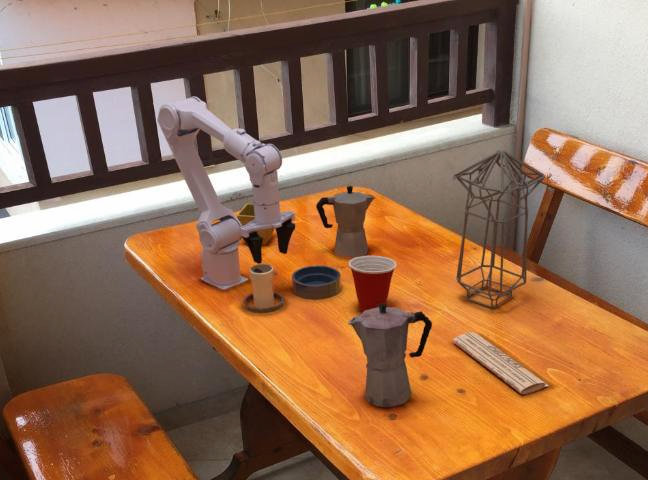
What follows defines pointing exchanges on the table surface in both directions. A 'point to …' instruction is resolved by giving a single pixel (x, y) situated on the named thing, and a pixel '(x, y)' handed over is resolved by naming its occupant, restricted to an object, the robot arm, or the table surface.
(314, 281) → the planter
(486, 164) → the geometric lantern
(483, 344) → the newspaper
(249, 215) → the flower pot
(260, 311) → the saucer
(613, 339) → the table surface
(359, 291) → the plastic cup
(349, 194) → the coffeepot
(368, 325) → the moka pot
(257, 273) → the clay pot
